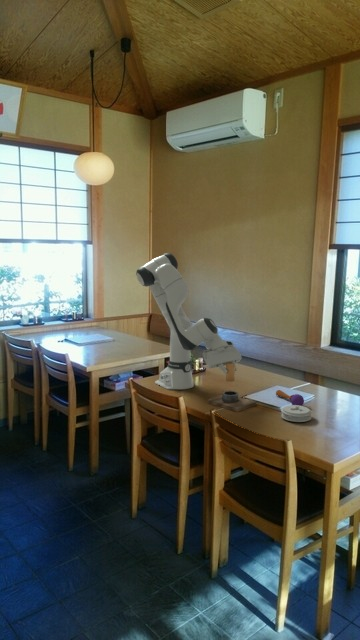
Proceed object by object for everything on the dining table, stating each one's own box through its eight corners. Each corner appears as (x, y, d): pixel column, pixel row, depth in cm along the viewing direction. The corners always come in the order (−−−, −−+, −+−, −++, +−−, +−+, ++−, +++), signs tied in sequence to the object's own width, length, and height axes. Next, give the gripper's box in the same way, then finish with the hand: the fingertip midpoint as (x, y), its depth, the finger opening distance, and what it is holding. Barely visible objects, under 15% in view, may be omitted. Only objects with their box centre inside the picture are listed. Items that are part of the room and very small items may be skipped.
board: (208, 402, 221) (208, 399, 221) (227, 396, 230) (227, 393, 230) (237, 412, 208) (237, 408, 208) (256, 404, 217) (256, 401, 217)
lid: (275, 418, 200) (275, 407, 200) (293, 411, 208) (293, 401, 207) (299, 426, 191) (299, 414, 190) (317, 419, 198) (317, 408, 198)
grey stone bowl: (219, 400, 220) (219, 393, 219) (229, 396, 225) (229, 389, 224) (231, 404, 214) (231, 396, 214) (241, 400, 219) (241, 393, 219)
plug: (224, 380, 218) (224, 364, 217) (229, 378, 221) (229, 362, 220) (230, 382, 215) (230, 365, 214) (236, 380, 218) (236, 363, 217)
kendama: (284, 387, 232) (307, 396, 212) (283, 399, 232) (305, 409, 213) (274, 386, 230) (296, 395, 211) (272, 398, 230) (294, 408, 211)
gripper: (203, 347, 215) (218, 371, 209) (235, 341, 227) (249, 364, 221) (197, 354, 219) (211, 379, 213) (228, 349, 231) (242, 371, 225)
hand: (231, 371), depth 217 cm, fingers closed on plug, 4 cm apart
